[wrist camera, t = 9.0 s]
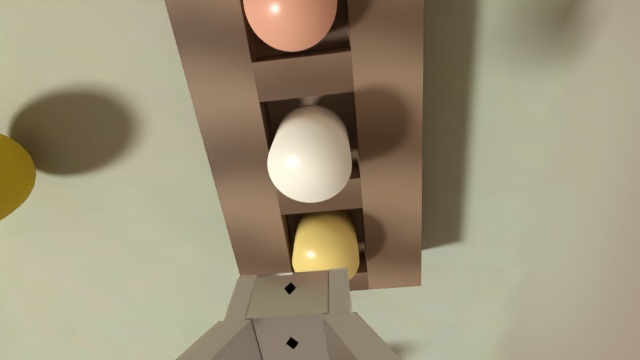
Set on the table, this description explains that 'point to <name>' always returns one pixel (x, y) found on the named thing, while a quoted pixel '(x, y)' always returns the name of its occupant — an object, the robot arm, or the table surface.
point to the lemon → (14, 175)
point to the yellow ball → (326, 242)
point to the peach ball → (290, 21)
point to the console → (324, 90)
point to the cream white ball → (310, 155)
